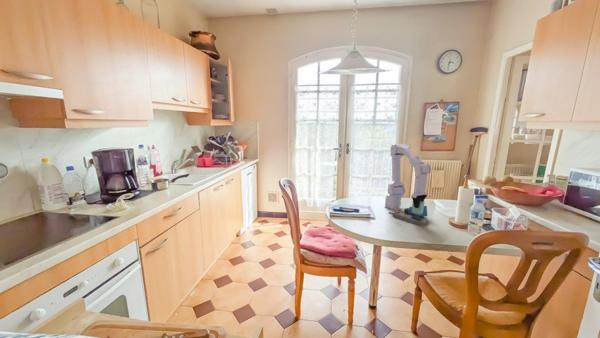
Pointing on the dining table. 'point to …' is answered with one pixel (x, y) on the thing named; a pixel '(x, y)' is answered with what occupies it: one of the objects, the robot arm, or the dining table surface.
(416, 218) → the strip
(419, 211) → the charger
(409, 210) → the perfume bottle
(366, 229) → the dining table surface
